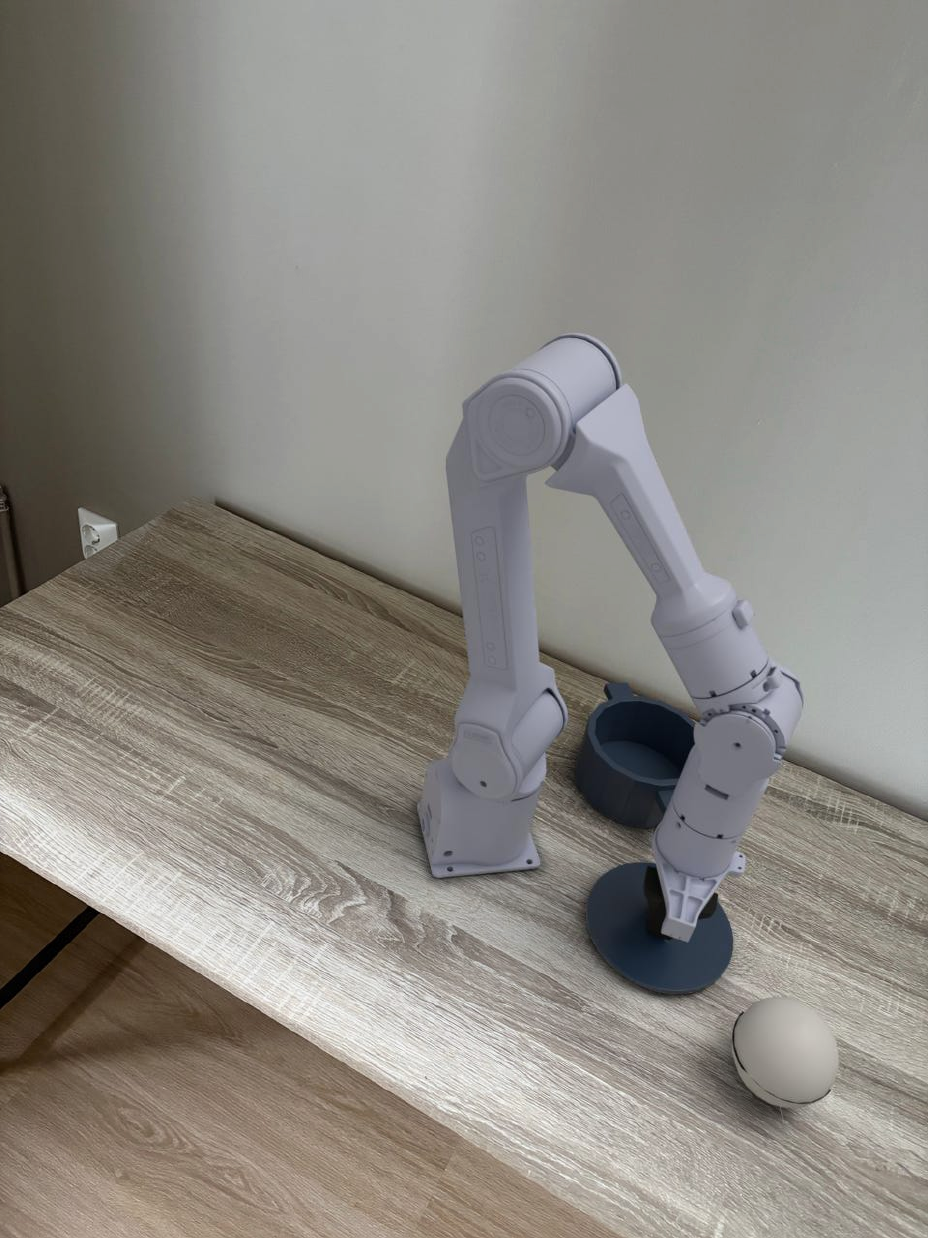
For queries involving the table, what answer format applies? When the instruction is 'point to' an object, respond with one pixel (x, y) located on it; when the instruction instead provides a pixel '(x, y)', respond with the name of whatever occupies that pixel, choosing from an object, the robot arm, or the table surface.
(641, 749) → the pot
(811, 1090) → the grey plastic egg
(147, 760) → the table surface
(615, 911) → the lid
